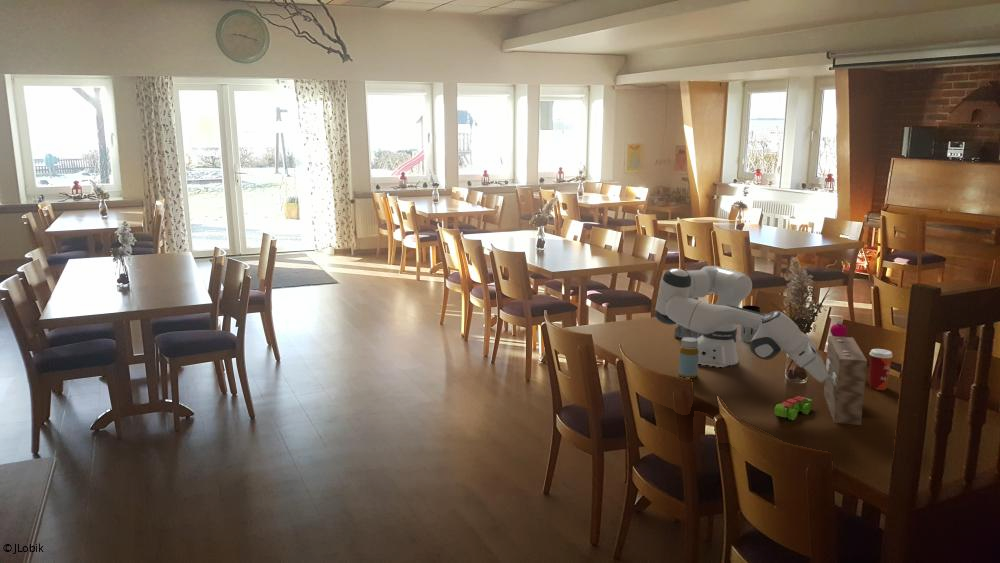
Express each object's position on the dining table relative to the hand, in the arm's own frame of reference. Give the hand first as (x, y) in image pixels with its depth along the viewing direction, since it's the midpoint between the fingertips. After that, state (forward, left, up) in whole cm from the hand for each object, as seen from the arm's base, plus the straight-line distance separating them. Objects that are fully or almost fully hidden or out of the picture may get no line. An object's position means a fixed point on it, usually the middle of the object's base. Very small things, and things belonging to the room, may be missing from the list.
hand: (831, 380), depth 243 cm
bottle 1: (-49, +81, -13) cm, 96 cm away
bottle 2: (-47, +28, -13) cm, 56 cm away
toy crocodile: (-12, -2, -13) cm, 17 cm away
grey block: (+3, +14, -1) cm, 15 cm away
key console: (+5, +7, -12) cm, 15 cm away
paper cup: (+21, +32, -13) cm, 40 cm away
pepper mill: (+9, +50, -13) cm, 53 cm away
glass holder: (-23, +81, -13) cm, 85 cm away
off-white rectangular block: (+4, 0, -1) cm, 4 cm away
